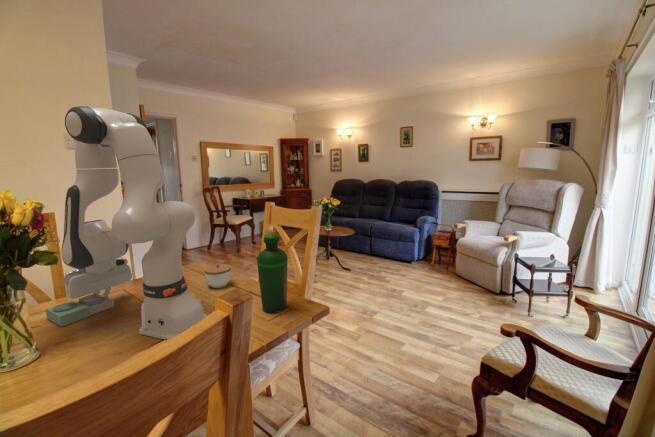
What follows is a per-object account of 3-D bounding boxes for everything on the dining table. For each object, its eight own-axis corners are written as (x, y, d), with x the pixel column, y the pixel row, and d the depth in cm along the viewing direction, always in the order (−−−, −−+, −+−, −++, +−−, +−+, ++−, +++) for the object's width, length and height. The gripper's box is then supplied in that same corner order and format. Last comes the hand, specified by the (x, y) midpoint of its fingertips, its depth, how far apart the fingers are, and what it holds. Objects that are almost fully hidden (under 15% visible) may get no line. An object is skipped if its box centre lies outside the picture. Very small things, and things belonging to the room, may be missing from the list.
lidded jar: (216, 279, 139) (215, 259, 137) (237, 282, 136) (236, 261, 134) (199, 288, 129) (197, 267, 127) (221, 291, 126) (220, 269, 124)
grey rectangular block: (103, 309, 112) (101, 297, 111) (88, 314, 108) (86, 302, 107) (94, 305, 115) (92, 294, 114) (80, 310, 111) (78, 298, 110)
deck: (115, 306, 114) (114, 296, 113) (62, 326, 100) (59, 314, 99) (100, 300, 119) (98, 290, 118) (47, 318, 105) (45, 307, 105)
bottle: (295, 305, 113) (293, 230, 108) (275, 318, 104) (271, 236, 99) (273, 298, 119) (270, 226, 113) (252, 310, 110) (248, 232, 105)
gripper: (67, 275, 102) (73, 314, 105) (131, 258, 120) (136, 292, 122) (58, 271, 105) (65, 310, 108) (123, 255, 123) (127, 289, 125)
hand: (103, 300), depth 115 cm, fingers closed
